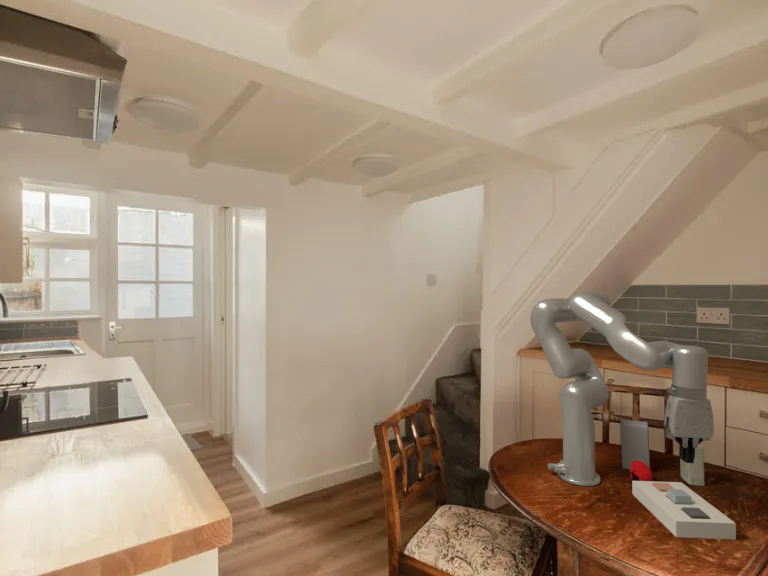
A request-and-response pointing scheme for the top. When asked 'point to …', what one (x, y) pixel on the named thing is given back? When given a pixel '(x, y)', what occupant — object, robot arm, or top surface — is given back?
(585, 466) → the robot arm
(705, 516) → the charcoal button
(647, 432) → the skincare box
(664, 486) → the terracotta button
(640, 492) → the button panel
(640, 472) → the cap
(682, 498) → the slate button
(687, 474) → the skincare box
